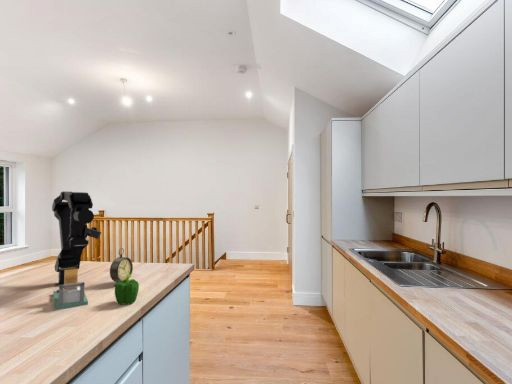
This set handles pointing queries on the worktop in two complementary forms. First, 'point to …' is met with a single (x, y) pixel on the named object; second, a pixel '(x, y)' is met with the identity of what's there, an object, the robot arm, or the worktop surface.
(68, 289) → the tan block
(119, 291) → the bell pepper
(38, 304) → the worktop surface
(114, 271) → the alarm clock
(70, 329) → the worktop surface
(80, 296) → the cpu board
